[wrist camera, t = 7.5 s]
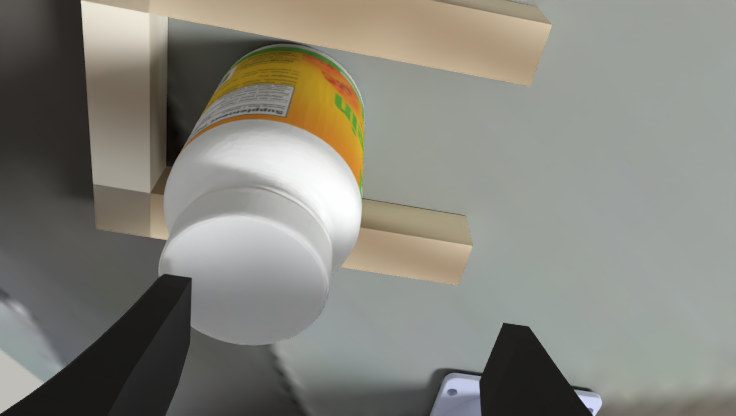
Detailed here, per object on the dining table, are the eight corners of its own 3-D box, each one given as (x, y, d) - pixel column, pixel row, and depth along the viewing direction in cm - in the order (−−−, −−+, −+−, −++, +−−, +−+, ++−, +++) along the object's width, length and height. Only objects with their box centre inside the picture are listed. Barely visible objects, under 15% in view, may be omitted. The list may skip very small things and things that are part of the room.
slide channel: (453, 254, 26) (458, 285, 24) (115, 200, 24) (96, 228, 23) (537, 6, 20) (552, 25, 18) (102, -83, 19) (76, -72, 17)
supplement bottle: (377, 163, 23) (379, 352, 15) (243, 185, 24) (175, 378, 16) (348, 25, 20) (331, 168, 12) (196, 54, 21) (85, 209, 13)
